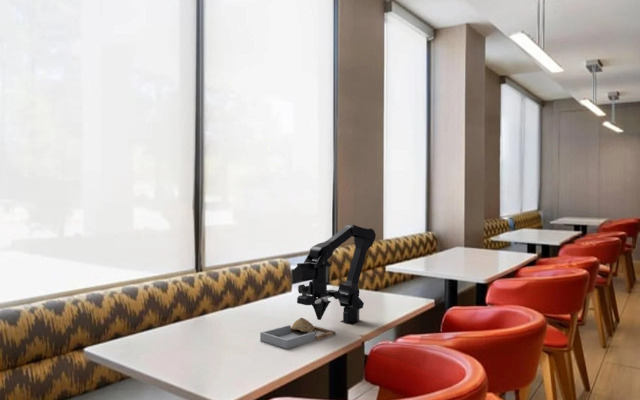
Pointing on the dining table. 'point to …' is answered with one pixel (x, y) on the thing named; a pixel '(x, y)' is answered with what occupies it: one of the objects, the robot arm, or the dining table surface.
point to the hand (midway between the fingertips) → (319, 319)
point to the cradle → (326, 331)
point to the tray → (285, 337)
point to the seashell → (303, 325)
